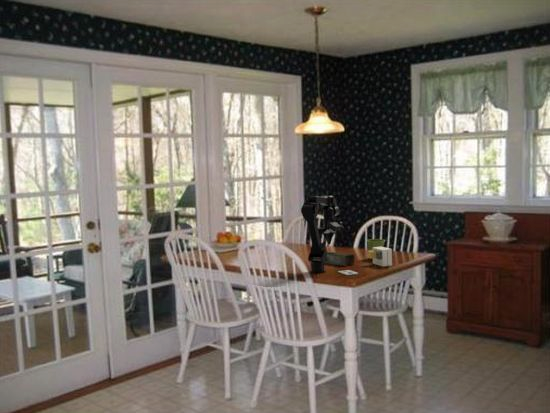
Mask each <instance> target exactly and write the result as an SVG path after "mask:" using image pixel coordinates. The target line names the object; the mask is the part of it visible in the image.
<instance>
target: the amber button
mask: <svg viewBox="0 0 550 413" xmlns="http://www.w3.org/2000/svg"><path fill="white" fill-rule="evenodd" d="M376 252H377V251H375V250H371V251H369V250H367V252H366V255H367V256H366V258H367V259H371V258H376ZM371 260H372V259H371Z"/></svg>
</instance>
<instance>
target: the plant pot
mask: <svg viewBox="0 0 550 413" xmlns="http://www.w3.org/2000/svg"><path fill="white" fill-rule="evenodd" d="M365 241H366V244H367V247H368V251H371V250H372V247H385V246H384V245H385V242H386V239H381V238H372V239H371V238H370V239H366V240H365ZM371 260H373V258H371Z"/></svg>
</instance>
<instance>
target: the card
mask: <svg viewBox="0 0 550 413" xmlns="http://www.w3.org/2000/svg"><path fill="white" fill-rule="evenodd" d="M337 272H338V273H340V274H343V275H346V276H350V275H358V274H359V272H357V271H354V270H350V269H347V270H346V269H344V270H338V271H337Z"/></svg>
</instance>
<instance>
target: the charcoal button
mask: <svg viewBox="0 0 550 413" xmlns="http://www.w3.org/2000/svg"><path fill="white" fill-rule="evenodd" d="M376 259H379V260H380V259H382V252H380V251H379V252H376Z"/></svg>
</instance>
